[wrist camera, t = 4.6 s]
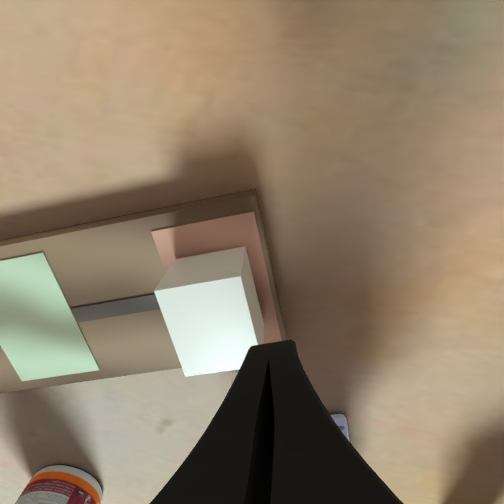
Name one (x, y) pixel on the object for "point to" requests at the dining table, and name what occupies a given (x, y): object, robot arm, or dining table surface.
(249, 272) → the white block
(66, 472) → the pill bottle
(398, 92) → the dining table surface
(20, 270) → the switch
